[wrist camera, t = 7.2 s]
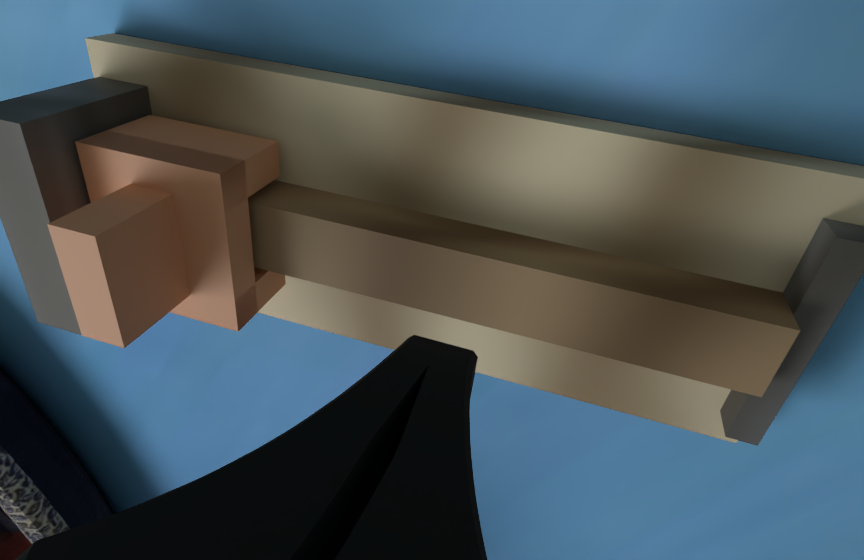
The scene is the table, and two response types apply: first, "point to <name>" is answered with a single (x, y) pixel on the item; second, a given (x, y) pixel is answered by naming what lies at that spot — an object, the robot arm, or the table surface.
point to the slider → (165, 228)
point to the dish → (38, 478)
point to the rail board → (485, 229)
